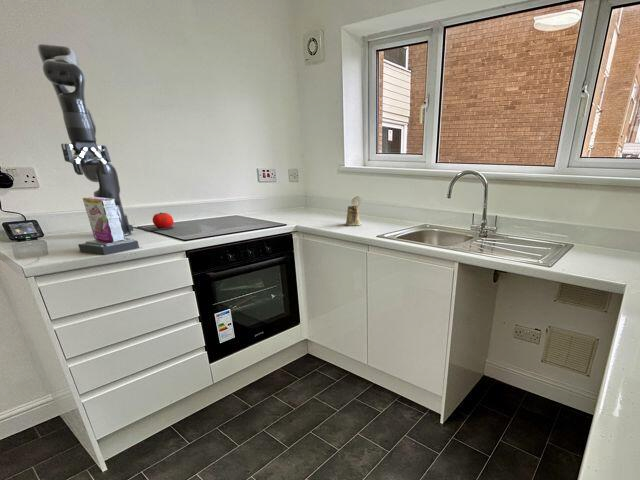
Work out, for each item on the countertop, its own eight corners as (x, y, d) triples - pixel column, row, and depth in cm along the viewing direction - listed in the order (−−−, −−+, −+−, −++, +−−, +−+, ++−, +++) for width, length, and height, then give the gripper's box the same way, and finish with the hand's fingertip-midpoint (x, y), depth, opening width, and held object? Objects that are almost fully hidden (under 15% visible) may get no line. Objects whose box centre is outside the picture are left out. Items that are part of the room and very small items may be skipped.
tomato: (163, 226, 192) (159, 210, 189) (180, 227, 191) (177, 211, 188) (149, 229, 184) (145, 213, 180) (167, 230, 182) (163, 214, 179)
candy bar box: (93, 239, 141) (81, 197, 135) (106, 237, 145) (95, 196, 139) (113, 242, 138) (101, 199, 132) (126, 240, 142) (115, 198, 136)
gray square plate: (114, 238, 148) (114, 236, 148) (134, 240, 145) (133, 238, 145) (86, 243, 138) (85, 241, 138) (106, 246, 135) (106, 243, 135)
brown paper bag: (350, 227, 209) (350, 196, 202) (343, 224, 220) (343, 194, 213) (364, 226, 212) (364, 196, 206) (357, 223, 224) (356, 194, 217)
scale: (116, 244, 150) (114, 237, 149) (139, 247, 147) (137, 239, 146) (80, 251, 138) (77, 243, 136) (104, 255, 134) (102, 246, 133)
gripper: (64, 125, 119) (79, 175, 125) (107, 129, 132) (119, 174, 138) (49, 125, 121) (64, 174, 127) (93, 128, 134) (105, 173, 140)
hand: (92, 174), depth 132 cm, fingers open, 8 cm apart
